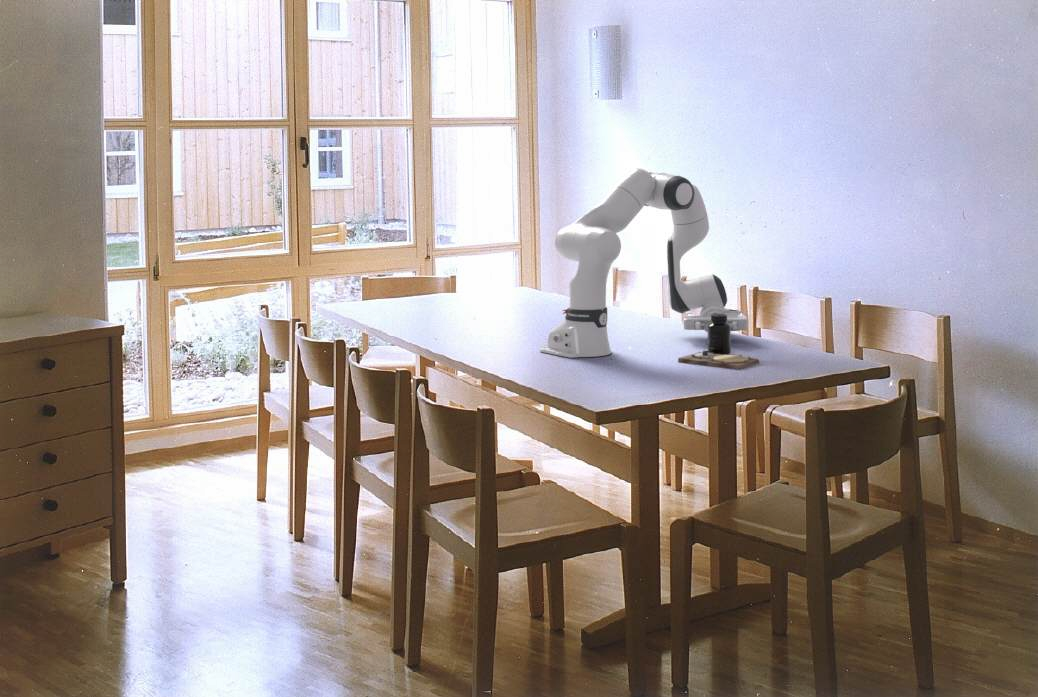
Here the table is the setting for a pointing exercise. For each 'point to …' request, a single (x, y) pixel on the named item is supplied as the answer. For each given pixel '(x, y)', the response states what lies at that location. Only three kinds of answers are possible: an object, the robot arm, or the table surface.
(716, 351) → the supplement bottle
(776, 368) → the table surface
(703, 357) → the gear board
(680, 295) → the robot arm
